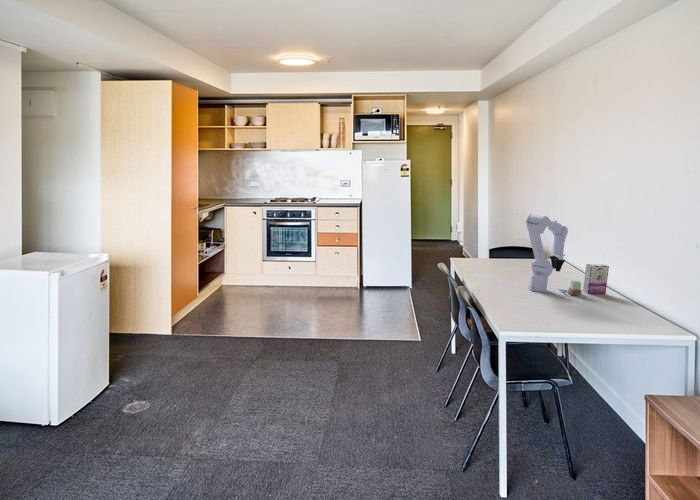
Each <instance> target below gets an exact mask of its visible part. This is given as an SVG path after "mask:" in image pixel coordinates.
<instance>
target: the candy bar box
mask: <svg viewBox="0 0 700 500" xmlns="http://www.w3.org/2000/svg"><path fill="white" fill-rule="evenodd" d="M609 268H610V266H609V265H607V264H603V263H601V264H599V263H598V264H595V263H593V264H591V263H589V264H588V263H587V264H585V272H584V279H583V280H584V282H583V288H582V293H584V294H587V295H606V292H607V285H608V277H609V271H610V270H609Z"/></svg>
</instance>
